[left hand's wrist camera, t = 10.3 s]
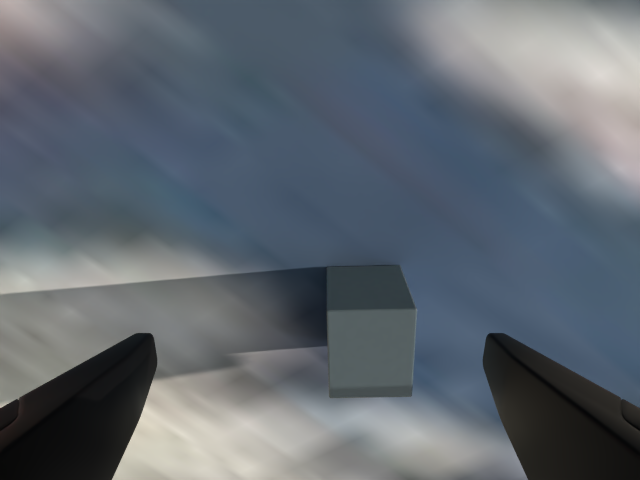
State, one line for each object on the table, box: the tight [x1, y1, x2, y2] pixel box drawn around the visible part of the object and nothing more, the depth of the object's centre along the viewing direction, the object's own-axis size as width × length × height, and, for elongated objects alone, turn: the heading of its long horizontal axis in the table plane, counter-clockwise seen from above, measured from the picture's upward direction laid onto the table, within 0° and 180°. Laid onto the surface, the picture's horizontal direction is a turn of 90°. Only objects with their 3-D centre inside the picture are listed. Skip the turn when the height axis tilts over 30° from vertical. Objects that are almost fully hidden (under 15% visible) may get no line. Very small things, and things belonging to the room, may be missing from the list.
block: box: [326, 265, 417, 398], centre depth 23 cm, size 4×5×5 cm
